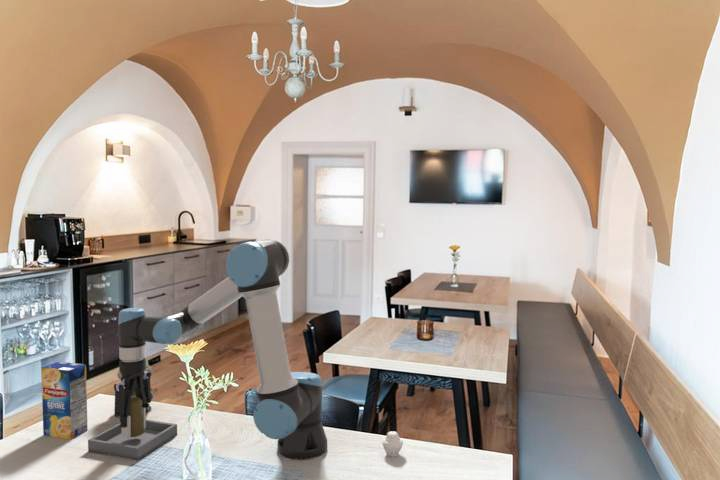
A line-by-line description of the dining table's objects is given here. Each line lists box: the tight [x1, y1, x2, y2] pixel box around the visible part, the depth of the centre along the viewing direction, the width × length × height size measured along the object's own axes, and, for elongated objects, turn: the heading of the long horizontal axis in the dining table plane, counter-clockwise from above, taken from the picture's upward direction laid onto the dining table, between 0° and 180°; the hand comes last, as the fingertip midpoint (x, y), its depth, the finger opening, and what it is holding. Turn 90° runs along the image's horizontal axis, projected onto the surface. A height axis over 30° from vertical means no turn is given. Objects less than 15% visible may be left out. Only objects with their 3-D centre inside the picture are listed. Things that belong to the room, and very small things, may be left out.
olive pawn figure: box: [128, 397, 144, 437], centre depth 163 cm, size 6×6×11 cm
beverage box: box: [40, 361, 89, 440], centre depth 170 cm, size 7×11×22 cm, turn 74°
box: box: [87, 419, 178, 461], centre depth 164 cm, size 18×18×4 cm
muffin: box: [381, 431, 404, 458], centre depth 158 cm, size 6×6×7 cm
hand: (134, 431), depth 164 cm, fingers closed on olive pawn figure, 6 cm apart
